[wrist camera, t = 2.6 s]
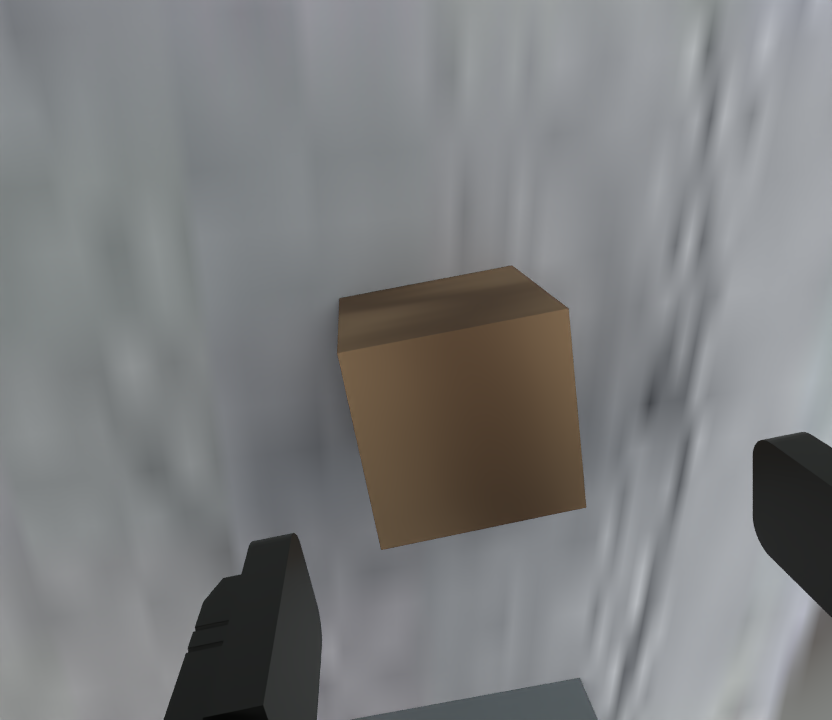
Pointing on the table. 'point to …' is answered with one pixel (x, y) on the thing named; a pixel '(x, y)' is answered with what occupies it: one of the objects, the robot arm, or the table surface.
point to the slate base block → (508, 705)
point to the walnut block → (462, 404)
